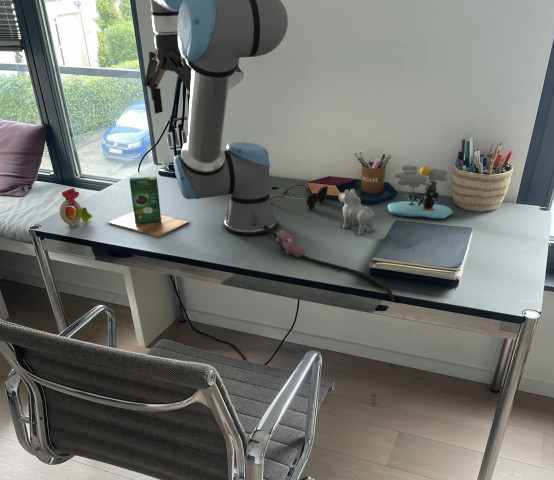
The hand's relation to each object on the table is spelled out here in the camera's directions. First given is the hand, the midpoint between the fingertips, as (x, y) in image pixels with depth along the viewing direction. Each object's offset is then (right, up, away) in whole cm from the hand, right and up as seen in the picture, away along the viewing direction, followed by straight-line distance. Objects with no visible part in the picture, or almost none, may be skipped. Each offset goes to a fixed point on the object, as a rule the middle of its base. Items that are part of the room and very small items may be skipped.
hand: (175, 115), depth 169 cm
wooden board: (-8, -32, +1) cm, 33 cm away
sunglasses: (+37, -22, +16) cm, 46 cm away
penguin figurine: (+75, -28, +7) cm, 80 cm away
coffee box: (-8, -32, +1) cm, 33 cm away
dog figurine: (+53, -35, -2) cm, 64 cm away
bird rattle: (-30, -33, +1) cm, 44 cm away
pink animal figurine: (+34, -45, -16) cm, 59 cm away
